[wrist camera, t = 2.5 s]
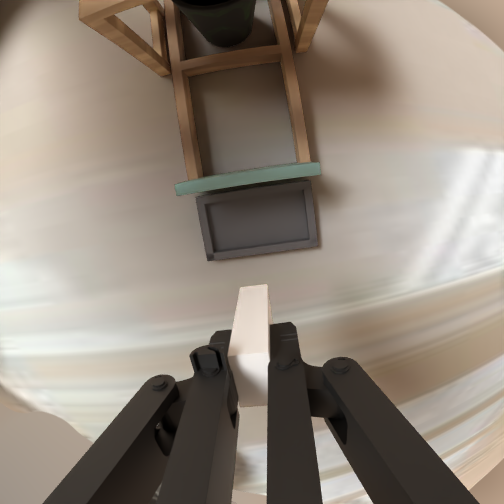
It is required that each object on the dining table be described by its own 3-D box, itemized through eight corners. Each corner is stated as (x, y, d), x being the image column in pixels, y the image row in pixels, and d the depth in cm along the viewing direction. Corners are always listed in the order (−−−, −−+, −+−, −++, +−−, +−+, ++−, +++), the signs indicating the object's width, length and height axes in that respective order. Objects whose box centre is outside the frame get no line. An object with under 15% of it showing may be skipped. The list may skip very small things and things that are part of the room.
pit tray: (198, 196, 34) (195, 197, 32) (308, 179, 33) (310, 180, 32) (209, 257, 36) (207, 261, 34) (315, 242, 35) (317, 246, 34)
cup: (191, 6, 27) (162, -47, 16) (257, -4, 27) (254, -62, 15) (195, 60, 30) (163, 18, 18) (265, 51, 29) (265, 2, 18)
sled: (169, 0, 27) (148, -32, 19) (271, -19, 26) (273, -56, 18) (196, 187, 33) (176, 196, 26) (307, 170, 32) (321, 174, 25)
